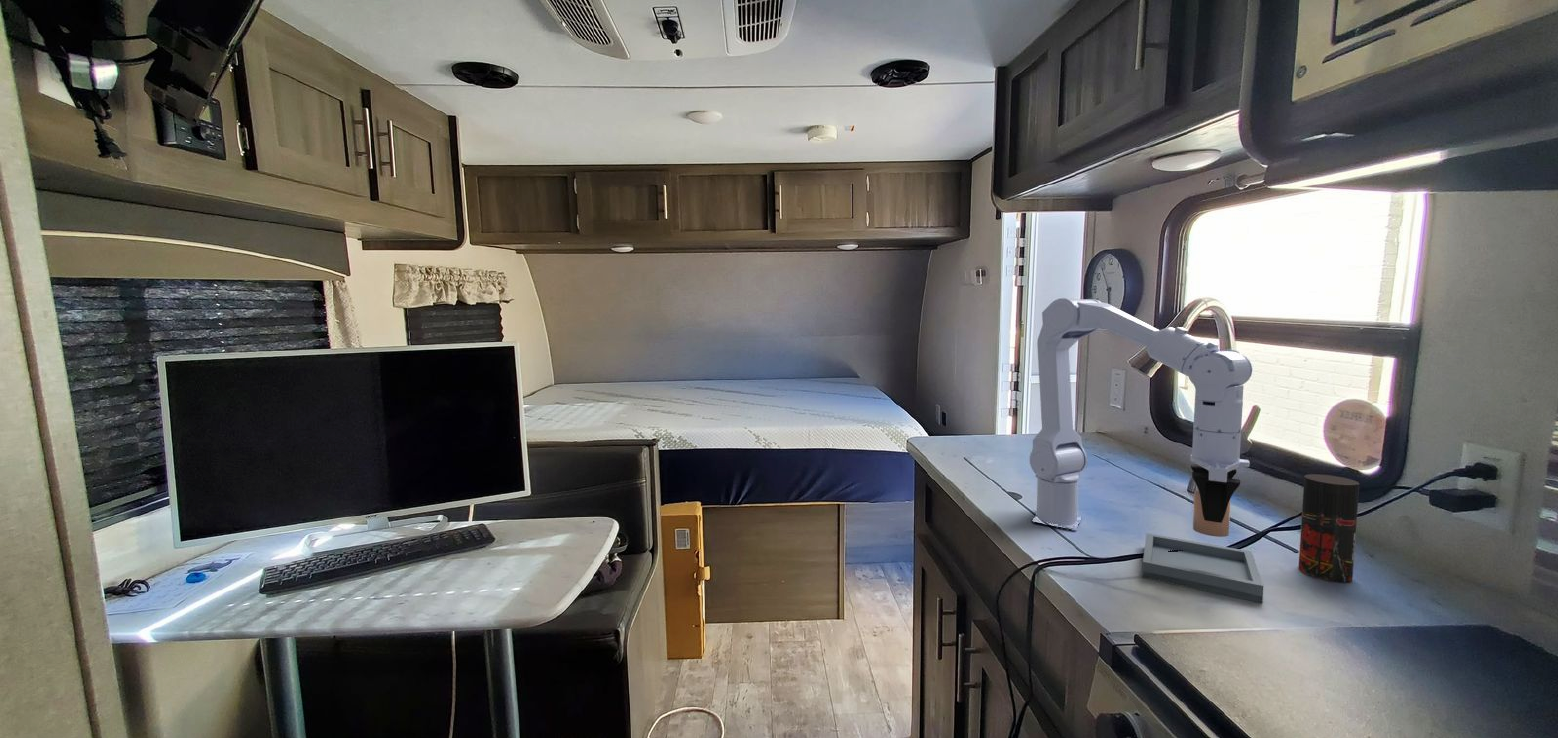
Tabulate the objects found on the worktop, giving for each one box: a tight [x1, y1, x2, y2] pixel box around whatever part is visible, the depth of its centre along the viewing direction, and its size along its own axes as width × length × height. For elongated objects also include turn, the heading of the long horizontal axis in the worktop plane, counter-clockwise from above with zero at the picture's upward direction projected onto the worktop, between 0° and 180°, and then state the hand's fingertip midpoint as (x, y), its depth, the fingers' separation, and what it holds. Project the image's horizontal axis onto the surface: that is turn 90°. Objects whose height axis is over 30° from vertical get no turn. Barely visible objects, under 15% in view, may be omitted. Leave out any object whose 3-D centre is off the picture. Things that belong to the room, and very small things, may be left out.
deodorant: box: [1297, 473, 1360, 584], centre depth 84 cm, size 6×6×15 cm
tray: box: [1142, 532, 1264, 604], centre depth 86 cm, size 14×14×2 cm
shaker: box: [1192, 484, 1231, 538], centre depth 84 cm, size 4×4×8 cm
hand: (1211, 516), depth 84 cm, fingers closed on shaker, 4 cm apart
